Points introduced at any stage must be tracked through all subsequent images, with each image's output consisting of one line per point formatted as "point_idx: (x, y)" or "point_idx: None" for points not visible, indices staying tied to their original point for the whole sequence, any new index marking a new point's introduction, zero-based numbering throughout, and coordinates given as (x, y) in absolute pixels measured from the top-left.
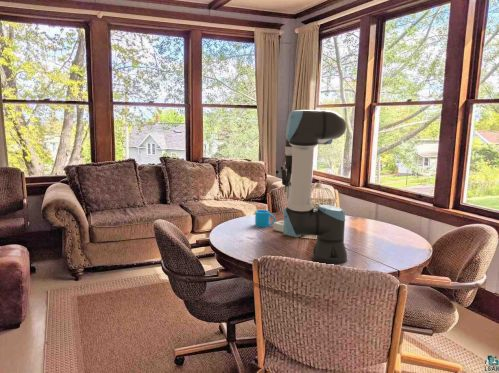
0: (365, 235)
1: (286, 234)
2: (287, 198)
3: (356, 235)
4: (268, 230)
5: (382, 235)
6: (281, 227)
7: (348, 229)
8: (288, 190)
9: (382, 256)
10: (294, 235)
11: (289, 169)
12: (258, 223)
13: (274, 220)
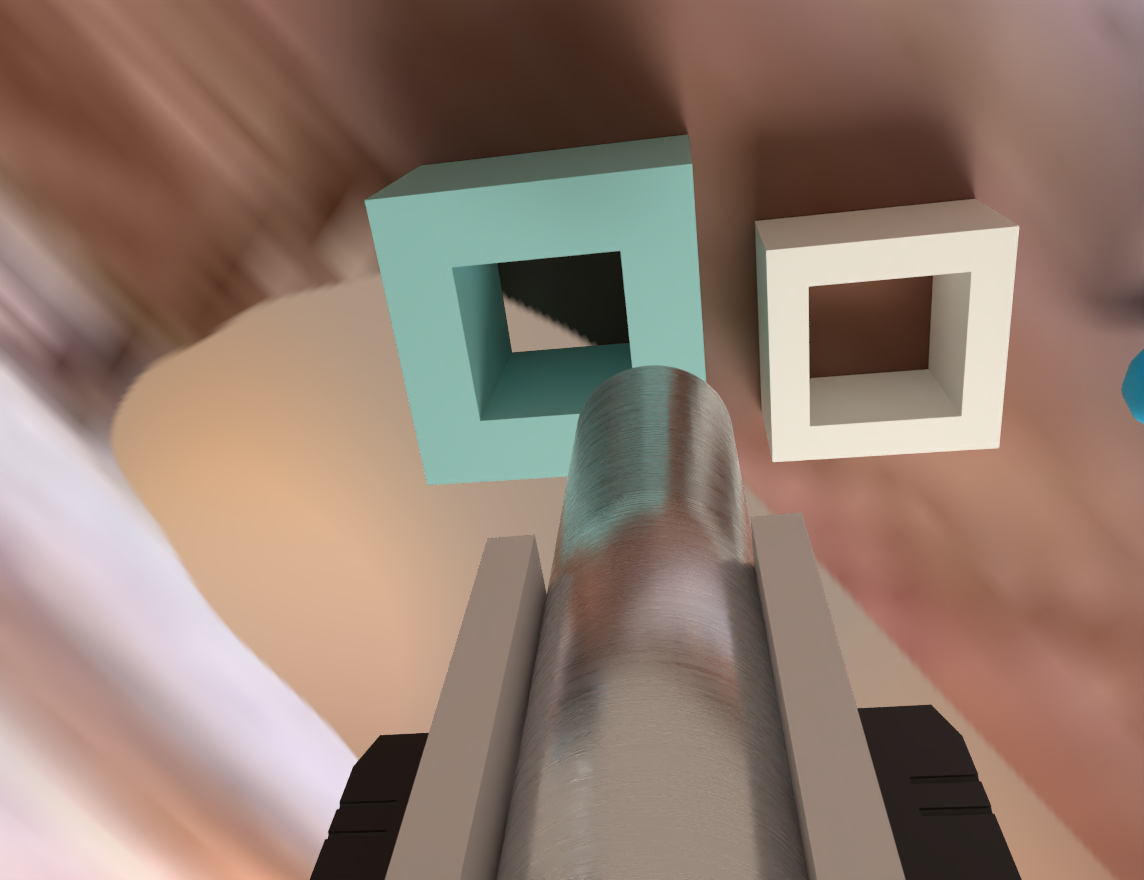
0: (79, 786)
1: (624, 142)
2: (752, 534)
3: (119, 736)
4: (1029, 96)
5: (14, 871)
6: (816, 230)
7: None
8: (733, 758)
9: None
10: (464, 162)
11: None
12: None
13: (1137, 386)
